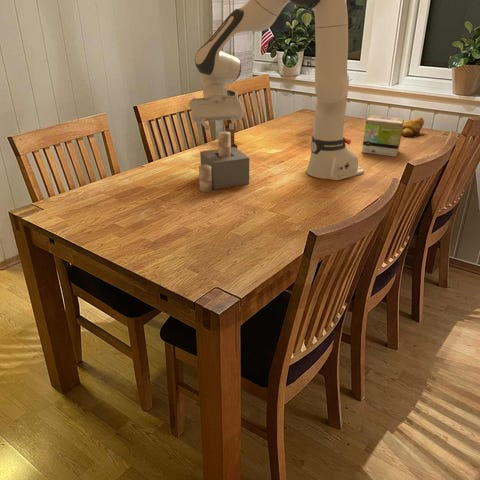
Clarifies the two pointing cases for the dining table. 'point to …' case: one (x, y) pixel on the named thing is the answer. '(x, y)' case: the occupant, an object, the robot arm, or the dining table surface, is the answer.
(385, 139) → the tea box
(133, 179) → the dining table surface
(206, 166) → the short pin
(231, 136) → the brown pedestal statuette
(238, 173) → the hole block
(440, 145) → the dining table surface
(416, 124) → the golden brown lumpy piece
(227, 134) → the tall pin
